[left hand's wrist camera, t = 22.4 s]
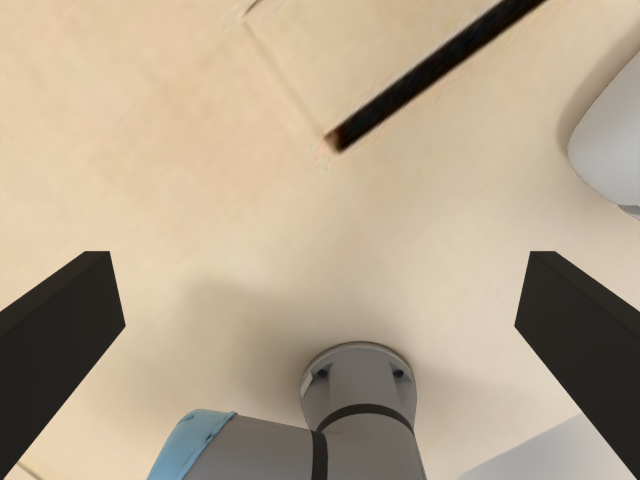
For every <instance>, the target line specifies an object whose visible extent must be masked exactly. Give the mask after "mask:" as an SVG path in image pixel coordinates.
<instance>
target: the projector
mask: <svg viewBox="0 0 640 480" xmlns="http://www.w3.org/2000/svg"><path fill="white" fill-rule="evenodd" d="M567 154H568V159H569V163H570V165H571V167H572V169H573V170H574V171H575V173H576V174H577V175H578V176H579V177H580V178H581V179H582V180H583V181H584V182H585V183H586V184H587V185H588V186H590V187H591V188H592V189H593V190H595V191H596V192H597V193H599V194H600V195H601V196H603V197H604V198H606V199H607V200H608V201H610V202H612V203H615V204H618V206H619V207H620V208H621V209H622V210H623V211H625V212H626V213H628V214H629V215H631V216H632V217H634V218H636V219H637V220H639V221H640V51H639V52H638V53H637V54H636V55H635V56H634V57H633V58H632V59H631V60H630V61H629V62H628V63H627V65H626V66H625V67H624V68H623V69H622V70H621V71H620V72H619V73H618V74H617V75H616V77H615V78H614V79H613V80H612V81H611V82H610V84H609V85H608V86H607V87H606V88H605V89H604V90H603V92H602V93H601V94H600V95H599V97H598V98H597V99H596V100H595V101H594V103H593V104H592V105H591V107H590V108H589V109H588V111H587V112H586V113H585V114H584V116H583V117H582V119H581V120H580V122H579V123H578V125H577V126H576V128H575V130H574V131H573V133H572V135H571V137H570V140H569V143H568V148H567Z"/></svg>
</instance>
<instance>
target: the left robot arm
mask: <svg viewBox="0 0 640 480" xmlns="http://www.w3.org/2000/svg"><path fill="white" fill-rule="evenodd" d="M125 326H126V325H125V320H124V316H123V311H122V306H121V302H120V297H119V293H118V288H117V283H116V279H115V274H114V269H113V265H112V260H111V256H110V251H85V252H83V253H82V254H80V255H79V256H78V257H76V258H75V259H73V260H72V261H71V262H69V263H68V264H66V265H65V266H64V267H62V268H61V269H59V270H58V271H57V272H55V273H54V274H52V275H51V276H50V277H48V278H47V279H45V280H44V281H43V282H41V283H40V284H38V285H37V286H36V287H34V288H33V289H31V290H30V291H29V292H27V293H26V294H24V295H23V296H22V297H20V298H19V299H17V300H16V301H15V302H13V303H12V304H10V305H9V306H8V307H6V308H5V309H3V310H2V311H1V312H0V480H3V479H4V478H5V476H6V475H7V474H8V473H9V471H10V470H11V469H12V468H13V466H14V465H15V464H16V463H17V461H18V460H19V459H20V458H21V456H22V455H23V454H24V453H25V451H26V450H27V449H28V448H29V446H30V445H31V444H32V443H33V441H34V440H35V439H36V438H37V436H38V435H39V434H40V433H41V431H42V430H43V429H44V428H45V426H46V425H47V424H48V423H49V421H50V420H51V419H52V418H53V416H54V415H55V414H56V413H57V411H58V410H59V409H60V408H61V406H62V405H63V404H64V403H65V401H66V400H67V399H68V398H69V396H70V395H71V394H72V393H73V391H74V390H75V389H76V388H77V386H78V385H79V384H80V383H81V381H82V380H83V379H84V378H85V376H86V375H87V374H88V373H89V371H90V370H91V369H92V368H93V366H94V365H95V364H96V363H97V361H98V360H99V359H100V358H101V356H102V355H103V354H104V353H105V351H106V350H107V349H108V348H109V346H110V345H111V344H112V343H113V341H114V340H115V339H116V338H117V336H118V335H119V334H120V333H121V331H122V330H123V329H124V328H125ZM514 326H515V328H516V329H517V330H518V331H519V333H520V334H521V335H522V336H523V338H524V339H525V340H526V341H527V343H528V344H529V345H530V346H531V348H532V349H533V350H534V351H535V353H536V354H537V355H538V356H539V358H540V359H541V360H542V361H543V363H544V364H545V365H546V366H547V368H548V369H549V370H550V371H551V373H552V374H553V375H554V376H555V378H556V379H557V380H558V381H559V383H560V384H561V385H562V386H563V388H564V389H565V390H566V391H567V393H568V394H569V395H570V396H571V398H572V399H573V400H574V401H575V403H576V404H577V405H578V406H579V408H580V409H581V410H582V411H583V413H584V414H585V415H586V416H587V418H588V419H589V420H590V421H591V423H592V424H593V425H594V426H595V428H596V429H597V430H598V431H599V433H600V434H601V435H602V436H603V438H604V439H605V440H606V441H607V443H608V444H609V445H610V446H611V448H612V449H613V450H614V451H615V453H616V454H617V455H618V456H619V458H620V459H621V460H622V461H623V463H624V464H625V465H626V466H627V468H628V469H629V470H630V471H631V473H632V474H633V475H634V476H635V478H636V479H637V480H640V312H639V311H638V310H637V309H635V308H634V307H632V306H631V305H630V304H628V303H627V302H625V301H624V300H623V299H621V298H620V297H618V296H617V295H616V294H614V293H613V292H611V291H610V290H609V289H607V288H606V287H604V286H603V285H602V284H600V283H599V282H597V281H596V280H595V279H593V278H592V277H590V276H589V275H588V274H586V273H585V272H583V271H582V270H581V269H579V268H578V267H576V266H575V265H574V264H572V263H571V262H569V261H568V260H567V259H565V258H564V257H562V256H561V255H560V254H558V253H557V252H555V251H530V256H529V260H528V265H527V269H526V274H525V279H524V283H523V288H522V293H521V297H520V302H519V306H518V311H517V316H516V320H515V325H514ZM300 401H301V408H302V411H303V414H304V417H305V420H306V422H307V425H308V428H309V430H308V429H303V428H299V427H294V426H289V425H284V424H279V423H275V422H270V421H265V420H260V419H255V418H250V417H246V416H241V415H238V413H236V412H230V413H225V412H218V411H212V410H205V409H199V410H194V411H192V412H190V413H188V414H187V415H186V416H184V417H183V418H182V419H181V420H180V422H179V423H178V424H177V425H176V427H175V428H174V430H173V431H172V433H171V434H170V436H169V437H168V439H167V441H166V443H165V444H164V446H163V448H162V450H161V452H160V453H159V455H158V457H157V459H156V461H155V463H154V465H153V467H152V469H151V471H150V473H149V476H148V478H147V480H427V478H426V475H425V471H424V467H423V464H422V460H421V457H420V453H419V450H418V446H417V442H416V439H415V435H414V431H413V429H414V421H415V412H416V403H417V391H416V384H415V381H414V377H413V374H412V372H411V369H410V367H409V366H408V364H407V363H406V362H405V360H404V359H403V358H402V357H401V356H399V355H398V354H397V353H395V352H394V351H392V350H390V349H388V348H386V347H384V346H381V345H378V344H374V343H367V342H352V343H345V344H341V345H337V346H335V347H332V348H330V349H328V350H326V351H324V352H322V353H321V354H320V355H318V356H317V357H316V358H315V359H314V360H313V361H312V362H311V363H310V364H309V365H308V367H307V368H306V370H305V372H304V374H303V377H302V380H301V387H300Z"/></svg>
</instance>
